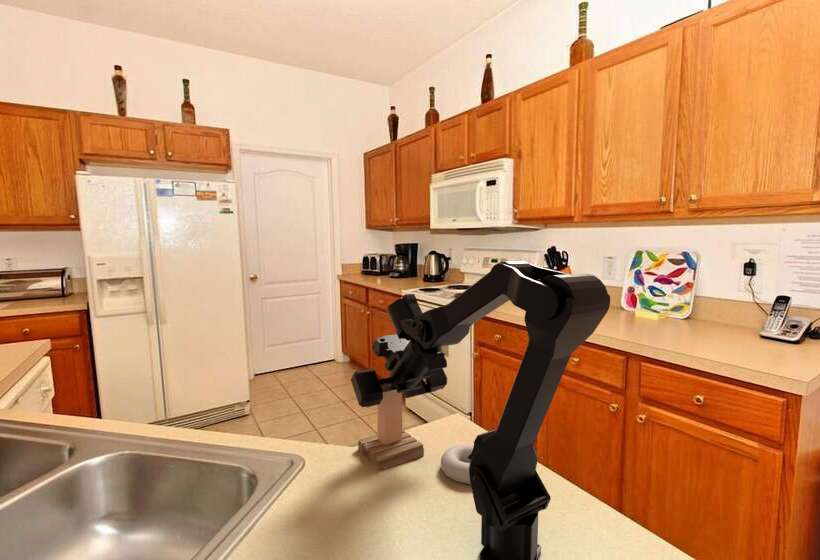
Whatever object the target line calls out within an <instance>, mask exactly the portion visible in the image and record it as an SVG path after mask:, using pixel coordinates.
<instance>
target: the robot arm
mask: <svg viewBox="0 0 820 560" xmlns="http://www.w3.org/2000/svg"><path fill="white" fill-rule="evenodd" d="M509 301H510V302H511V304H512V305H514V307H517V308H519V309H521V310H523V311H525V313H524V323H525V328H526V331H527V332H526V333H527V335H528V342H527V346H526V348H525V351H524V354H523V356H522V358H521V359H522V360H521V362H520V364H519V367H518V370H517V373H516V376H515V379H514V381H513V384H512V387H511V389H510V392H509V395H508V398H507V400H506V403H505V406H504V408H503V412H502V415H500V416H501V417H500V420H499V423H498V425H497V428H495V429H492V430H490V431H486V432H483V433H480V434H477V435H476V437H475V439H474V442H473V445H474V447H473V451H472V453H471V454H470V455H469V456H468V458H469V459H471V462H470V466H469V477H470V483H471V484H470V487H471V493H472V495H473V496H472V497H473V502H474V506H475V511H476V513H477V514H479V516H480V518H481V524H480V525H481V526H480V527H481V528H480V531H481V532H480V543H481V546H483V547H482V548H481V550H480V552H479V557H478V558H479V560H538V558H539V556H540V553H541V552H542V546H541V544H539V543H538V539H539V535H538V534H539V512H541V511H542V510H543V511H544V510H546V509H548V506H549V504H550V502H551V497H552V496H551V495H550V493H549V492H548V490H547V488H546V486H545V484H544V483H543V481H542V478H541V477H540V475H539V474H538V472H537V470H536V469H537V465H538V456H537V452H536V449H535V442H536V439H537V437H538V435H539V433H540V429H541V428H542V425H543V423H544V420H545V418H546V415H547V413H548V411H549V409H550V406H551V404H552V401H553V399H554V396H555V394H556V392H557V390H558V388H559V385H560V382H561V381H562V378H563V375H564V373H565V371H566V368H567V366H568V364H569V361H570V358H571V356H572V355H573V353H574V352H575V351H576V350H577V349H578V348H579V347H580V346H581V345H582V344H583V343H584V342H586V341H587V340H588V338H590V337H591V336H592V334H594V332H596V329H597V328H598V326H599V325H600V324H601V322H602V321H603V319H604V318H605V316H606V315H607V313H608V312H609V309H610V305H611V296H610V294H609V293H608V290H607V287H606V286H605V284H604V283H603V281H602V280H601V279H600V278H598V277H596V275H593V274H590V273H571V274H570V273H568V272H567V273H566V272H562V271H558V270H554V269H550V268H545V267H541V266H538V265H535V264H533V263H530V262H528V261H526V260H510V261H507V260H505V261H500V262H498V263H496V264H494V265H493V266H492V268H491V270H490V271H488V273H486V274H485V275H484V276H482V277H481V278H480V279H478V280H477V281H476V282H474V283H473V284H472V285H470V286H469V287H468V288H467V289H465V290H464V291H463V292H462V293H460V294H459V295H457V296H456V297H455V298H454V299H453V300H451V301H450V302H449V303H447V304H445V305H441V306H438V307H433V308H431V309H428V310H426V311H424V312H423V310H422V309H421V306H420V304H419V302H418V299H417V297H416V295H415V293H405V294H404V295H403V297H401V298H398V299H395V300H394V301H393V302H392V303H391V304H389V305H388V306H387V307H386V311H387V312H386V313H387V314H388V317H389V319H390V321H391V324H392V326H393V328H394V330H395V333H396V334H389V335H383V336H381V337H378V338H376V339H375V340H374V341H373V343H372V346H371V347H372V352H373V353H374V355H375V356H376V357H377V358H381V357H382V358H384V360H385V361H386V362H385V364H384V368H385V371H388V377H385V378H380V379H379V378H378V375H377V373H376V370H375V369H373V368H368V369H367V368H366V369H362V370H356V371H354V373H353V375H352V376H351V378H350V382H351V385H352V387H353V388H352V389H353V391H354V394H355V396H356V400H357V402H358V405H359V406H360V407H362V408H370V407H375V406H378V404H380V402H381V401H382V399H383V393H385V392H390V391H394V390H397V392H398V393H402V394H403V395H404V397H405V398H406V399H409V398H413V397H417V396H422V395H425V394H430V393H434V392H436V391H440V390H443V389H444V388H445V387H446V386H447V385H448V376H447V375H446V372H445V370H444V369H445V368H447V367H448V361H447V359H446V357H445V352H443V347H447V346H455V345H458V344H460V343H461V342H462V341H463V340H464V338H466V337H467V335H469V333H470V329H471V327H472V325H474V324H475V323H476V322H478V321H480V320H481V319H483V318H484V317H486V316H487V315H489V314H490V313H491V312H493V311H495V310H497V309H498V308H500V307H501V306H503V305H504V304H506V303H507V302H509ZM388 386H389V387H388ZM390 386H391V387H390Z"/></svg>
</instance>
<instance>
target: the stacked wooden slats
mask: <svg viewBox="0 0 820 560" xmlns="http://www.w3.org/2000/svg"><path fill="white" fill-rule="evenodd" d="M366 443H367V444H366ZM357 449H358V451H359V452H360V453H361V454H362V455H363V456H364V457H365V458H366V459H367V460H368V461H369V462H370V463H371V464H372V465H373V466H374V467H375V468H376V469H377V470H378V471H380V470H385V469H387V468H390V467H393V466H396V465H399V464H402V463H405V462H407V461H411V460H414V459H417V458H420V457H423V456H425V454H424V453H425V448H424V444H423V443H422V442H420V441H419V440H417V438H415V437H413V436H412V435H411V434H409V433H408V432H407V431H405V430H404V429H403V428H402V440H400V441H397V442H394V443H390V444H387V445H384V444H383V443H382V442H381V441H379V440H378V434H375V435H371V436H368V437H363V438H361V439H358V443H357Z"/></svg>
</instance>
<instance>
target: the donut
mask: <svg viewBox="0 0 820 560" xmlns="http://www.w3.org/2000/svg"><path fill="white" fill-rule="evenodd" d="M473 447H474V444H465V443H463V444H457V445H453V446H450V447H449V448H447V449H446V450H445V451H444V452H443V454H442V455H441V457H440V467H441V469H442V471H443V472H444V474H445V475H446V476H447V477H448V478H449V479H451V480H453V481H456V482H458V483H461V484H466V485H467V484H469V485H471V483H470V477H469V466H470V462H471V459H469V458H468V456H469V455H470V454H471V453H472V451H473Z"/></svg>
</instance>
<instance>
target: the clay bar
mask: <svg viewBox="0 0 820 560" xmlns="http://www.w3.org/2000/svg"><path fill="white" fill-rule="evenodd" d="M388 387H389V386H388ZM390 387H391V386H390ZM402 429H403V392H402V393H398V392H397V390H394V391H390V392H385V393H383V399H382V401H381V402H380V404H378V405H377V435H378V440H379V441H381V442H382V443H383V444H384V445H387V444H390V443H394V442H397V441H400V440H402Z"/></svg>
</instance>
